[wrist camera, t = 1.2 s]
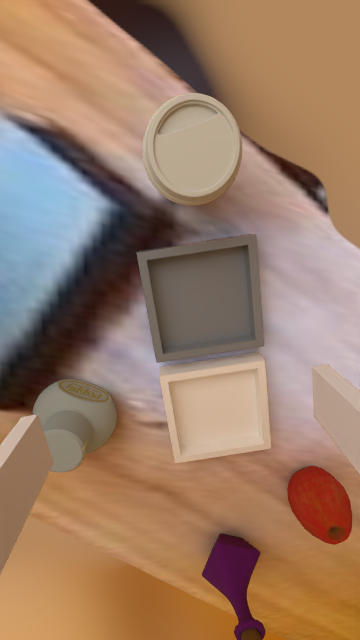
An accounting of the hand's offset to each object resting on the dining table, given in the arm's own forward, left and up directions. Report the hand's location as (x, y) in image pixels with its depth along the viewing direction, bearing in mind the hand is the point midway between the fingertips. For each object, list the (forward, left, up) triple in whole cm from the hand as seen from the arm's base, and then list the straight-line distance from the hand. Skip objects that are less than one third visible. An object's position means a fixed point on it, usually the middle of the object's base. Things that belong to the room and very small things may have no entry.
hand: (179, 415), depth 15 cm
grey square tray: (+4, -1, -27) cm, 27 cm away
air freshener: (-15, -14, -27) cm, 34 cm away
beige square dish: (+4, -17, -27) cm, 32 cm away
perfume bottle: (+3, -45, -27) cm, 52 cm away
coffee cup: (+4, +14, -27) cm, 31 cm away
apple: (+17, -33, -27) cm, 46 cm away
